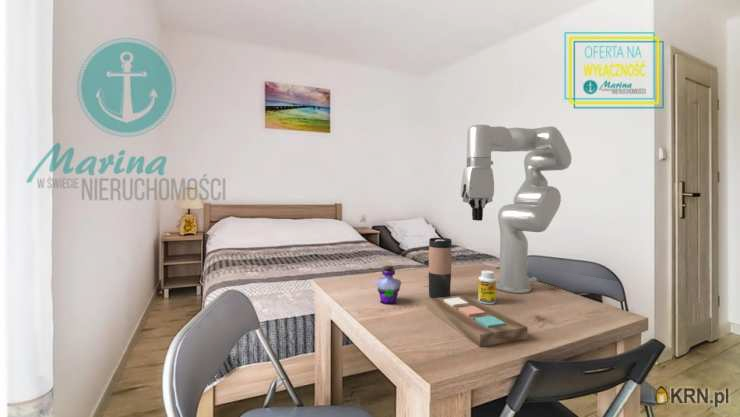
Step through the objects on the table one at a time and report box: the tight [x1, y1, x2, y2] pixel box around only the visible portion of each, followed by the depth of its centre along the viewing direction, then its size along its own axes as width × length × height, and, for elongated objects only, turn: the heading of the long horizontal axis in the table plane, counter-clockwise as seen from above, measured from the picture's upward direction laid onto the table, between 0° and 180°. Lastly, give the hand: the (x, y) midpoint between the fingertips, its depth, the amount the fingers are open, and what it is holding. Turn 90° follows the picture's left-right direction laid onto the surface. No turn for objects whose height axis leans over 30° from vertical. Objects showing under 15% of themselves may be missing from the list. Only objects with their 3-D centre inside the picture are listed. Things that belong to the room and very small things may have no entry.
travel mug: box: [428, 237, 452, 299], centre depth 118 cm, size 8×8×20 cm
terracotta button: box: [458, 306, 485, 317], centre depth 96 cm, size 5×5×3 cm
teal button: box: [475, 316, 505, 328], centre depth 89 cm, size 5×5×3 cm
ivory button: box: [444, 298, 468, 307], centre depth 104 cm, size 5×5×3 cm
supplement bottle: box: [477, 269, 497, 305], centre depth 113 cm, size 6×6×10 cm
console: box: [425, 294, 529, 348], centre depth 96 cm, size 14×27×3 cm, turn 18°
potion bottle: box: [375, 265, 402, 306], centre depth 113 cm, size 9×9×12 cm
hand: (477, 220), depth 113 cm, fingers closed
